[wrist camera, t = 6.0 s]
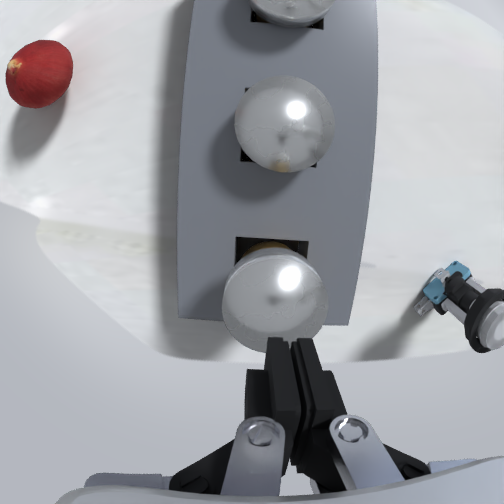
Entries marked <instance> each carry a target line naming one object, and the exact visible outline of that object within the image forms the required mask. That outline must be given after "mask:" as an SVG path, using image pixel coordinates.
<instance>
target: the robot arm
mask: <svg viewBox="0 0 504 504" xmlns="http://www.w3.org/2000/svg"><path fill="white" fill-rule="evenodd" d="M289 458H290V462H291V465H292V466H295V465H296V468H297V473H304V474H305V475H306V476H308V477H310V485H311V488H312V490H313V493H314V494H313V495H298V496H279V493H280V484H281V477H282V476H284V475H285V472H286V469H287V466H288V462H289ZM55 504H504V456H497V457H490V458H485V459H481V460H476V459H463V460H450V461H436V462H429V463H428V464H427V465H426V464H425V463H423V462H422V461H420V460H418V459H416V458H413V457H411V456H409V455H407V454H404V453H402V452H400V451H398V450H396V449H393V448H391V447H389V446H387V445H385V444H383V443H382V442H381V440H380V439H379V437H378V436H377V434H376V433H375V431H374V429H373V427H372V426H371V425H370V423H369V422H368V421H366V420H365V419H363V418H361V417H359V416H355V415H347V412H346V409H345V406H344V403H343V400H342V398H341V395H340V392H339V389H338V386H337V384H336V381H335V378H334V375H333V373H332V371H330V370H329V371H323V370H322V367H321V364H320V361H319V358H318V355H317V352H316V349H315V346H314V342H313V340H312V338H297V340H296V341H292V342H291V347H290V348H289V343H288V341H283V337H268V340H267V348H266V357H265V365H264V370H255V369H247V374H246V386H245V420H244V421H243V422H242V423H241V424H240V425H239V427H238V429H237V432H236V436H235V439H234V440H232V441H231V442H229V443H227V444H226V445H224V446H222V447H221V448H219V449H217V450H216V451H214V452H213V453H211V454H209V455H208V456H206V457H204V458H202V459H201V460H199V461H197V462H195V463H194V464H192V465H190V466H188V467H187V468H185V469H183V470H181V471H179V472H178V473H176V474H175V475H174V476H165V477H162V475H161V474H119V473H96V474H94V475H92V476H90V477H89V478H88V479H87V480H86V482H85V485H84V488H79V489H76V490H73V491H70V492H68V493H66V494H65V495H63V496H62V497H61V498H60V499H59V500H58V501H57V502H56V503H55Z"/></svg>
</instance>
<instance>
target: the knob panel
mask: <svg viewBox="0 0 504 504" xmlns="http://www.w3.org/2000/svg"><path fill="white" fill-rule="evenodd" d="M252 10H253V9H252V8H251V6H250V4H249V2H248V0H194V6H193V13H192V20H191V27H190V35H189V43H188V52H187V61H186V71H185V81H184V93H183V105H182V118H181V134H180V151H179V174H178V208H177V282H178V317H179V318H188V319H201V320H214V321H224V319H223V314H222V301H223V295H224V289H225V284H226V280H227V278H228V276H229V273H230V272H231V270H232V269H233V267H234V266H235V264H236V245H237V237H252V238H268V239H284V240H299V244H298V254H300V255H302V256H303V257H305V258H306V259H307V260H308V261H309V262H310V263H311V264H312V265H313V267H314V268H315V270H316V272H317V273H318V275H319V277H320V279H321V281H322V282H323V284H324V286H325V289H326V292H327V296H328V312H327V316H326V319H325V321H324V324H323V325H348V323H349V319H350V314H351V309H352V305H353V300H354V295H355V289H356V284H357V279H358V273H359V268H360V262H361V256H362V250H363V243H364V237H365V230H366V223H367V215H368V208H369V200H370V191H371V182H372V172H373V161H374V149H375V136H376V119H377V96H378V28H377V6H376V0H335V1H334V3H333V4H332V6H331V8H330V9H329V11H328V13H327V14H326V16H325V17H324V18H323V19H321V20H320V21H319V22H317V23H315V24H314V28H307V27H300V28H288V27H282V26H278V25H275V24H271V23H257V22H252ZM273 76H293V77H297V78H301V79H303V80H305V81H308V82H309V83H311V84H313V85H314V86H315V87H317V88H318V89H319V90H320V91H321V92H322V93H323V94H324V96H325V97H326V98H327V100H328V102H329V103H330V105H331V108H332V110H333V114H334V119H335V132H334V137H333V140H332V143H331V145H330V147H329V149H328V151H327V152H326V153H325V155H324V156H323V157H322V158H321V159H320V160H319V161H318V162H316V163H315V164H314V165H312V166H310V167H308V168H306V169H303V170H300V171H296V172H277V171H273V170H269V169H267V168H264V167H262V166H260V165H259V164H257V163H256V162H252V161H241V160H242V147H241V146H240V144H239V141H238V139H237V136H236V132H235V112H236V109H237V106H238V104H239V101H240V100H241V98H242V96H243V95H244V94H245V93H246V91H247V90H248V89H249V88H250V87H252V86H253V85H254V84H256V83H257V82H259V81H261V80H263V79H266V78H269V77H273Z"/></svg>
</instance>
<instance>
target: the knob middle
mask: <svg viewBox="0 0 504 504" xmlns="http://www.w3.org/2000/svg"><path fill="white" fill-rule="evenodd" d="M235 132H236V136H237V139H238V141H239V144H240V146H241V147H242V149H243V150H244V152H245V153H246V154H247V155H248V156H249V157H250V158H251V159H252V160H253V161H254V162H256V163H257V164H259V165H260V166H262V167H264V168H267V169H269V170H273V171H277V172H296V171H300V170H303V169H306V168H308V167H310V166H312V165H314V164H315V163H316V162H318V161H319V160H320V159H321V158H322V157H323V156H324V155H325V153H326V152H327V151H328V149H329V147H330V145H331V143H332V140H333V137H334V132H335V119H334V114H333V110H332V108H331V105H330V103H329V102H328V100H327V98H326V97H325V96H324V94H323V93H322V92H321V91H320V90H319V89H318V88H317V87H315V86H314V85H313V84H311V83H309V82H308V81H305V80H303V79H301V78H297V77H293V76H273V77H269V78H266V79H263V80H261V81H259V82H257V83H256V84H254V85H253V86H252V87H250V88H249V89H248V90H247V91H246V93H245V94H244V95H243V96H242V98H241V100H240V101H239V104H238V106H237V109H236V112H235Z"/></svg>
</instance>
